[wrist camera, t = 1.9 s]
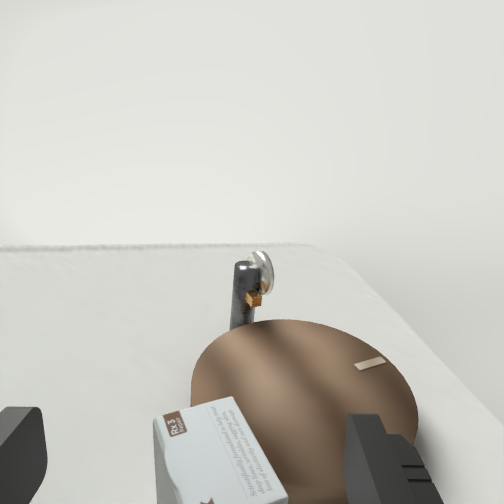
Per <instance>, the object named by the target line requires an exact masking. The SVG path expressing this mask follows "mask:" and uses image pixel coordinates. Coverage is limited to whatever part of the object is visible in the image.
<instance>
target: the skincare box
mask: <svg viewBox="0 0 504 504" xmlns="http://www.w3.org/2000/svg"><path fill="white" fill-rule="evenodd" d="M153 439H154V458H155V475H156V491H157V504H288V498H289V497H288V495H287V493H286V491H285V489H284V488H283V486H282V484H281V482H280V481H279V479H278V477H277V475H276V474H275V472H274V470H273V468H272V466H271V465H270V463H269V461H268V459H267V457H266V456H265V454H264V452H263V450H262V449H261V447H260V445H259V443H258V441H257V440H256V438H255V436H254V434H253V433H252V431H251V429H250V427H249V426H248V424H247V422H246V420H245V418H244V416H243V415H242V413H241V411H240V409H239V407H238V406H237V404H236V402H235V400H234V398H233V397H232V396H231V397H227V398H223V399H219V400H215V401H211V402H207V403H204V404H200V405H197V406H193V407H190V408H186V409H183V410H179V411H176V412H173V413H169V414H166V415H161V416H157V417H155V418H154V419H153Z"/></svg>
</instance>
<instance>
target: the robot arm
mask: <svg viewBox="0 0 504 504" xmlns="http://www.w3.org/2000/svg"><path fill="white" fill-rule="evenodd" d="M46 469H47V449H46V442H45V434H44V426H43V418H42V413H41V410H40V409H39V408H38V407H6V408H5V409H3V410H2V411H1V412H0V504H29V503H30V501H31V500H32V498H33V496H34V495H35V493H36V492H37V490H38V489H39V487H40V485H41V483H42V481H43V479H44V476H45V473H46ZM343 473H344V484H345V490H346V494H347V498H348V502H349V504H444V503H443V501H442V499H441V497H440V495H439V493H438V491H437V489H436V487H435V485H434V483H432V479H431V477H430V475H429V473H428V471H427V469H425V467H424V464H423V462H422V460H421V458H420V456H419V454H418V452H417V450H416V448H415V447H414V446H412V445H411V444H410V443H409V442H408V441H407V440H406V439H405V438H404V437H403V436H402V435H401V434H387V432H386V430H385V428H384V425H383V423H382V421H381V418H380V416H379V415H378V414H377V413H348V415H347V421H346V434H345V448H344V461H343Z"/></svg>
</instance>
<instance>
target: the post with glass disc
mask: <svg viewBox="0 0 504 504" xmlns="http://www.w3.org/2000/svg"><path fill="white" fill-rule="evenodd" d="M273 286H274V271H273V266H272V263H271V260H270V258H269V257H268V255H267V254H266V253H265V252H264V251H255V252H251V253H250V254H249V256H248V259H247V261H239V262H237V263H236V264H235V269H234V282H233V294H232V307H231V319H230V330H232V329H235V328H237V327H240V326H243V325H246V324H250V323H253V322H254V313H255V307H257V306H261V300H262V296H261V295H267V294H269V293H271V291H272V289H273Z"/></svg>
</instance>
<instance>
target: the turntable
mask: <svg viewBox="0 0 504 504" xmlns="http://www.w3.org/2000/svg"><path fill="white" fill-rule="evenodd" d="M231 396H232V397H233V398H234V400H235V402H236V404H237V406H238V407H239V409H240V411H241V413H242V415H243V416H244V418H245V420H246V422H247V424H248V426H249V427H250V429H251V431H252V433H253V434H254V436H255V438H256V440H257V441H258V443H259V445H260V447H261V449H262V450H263V452H264V454H265V456H266V457H267V459H268V461H269V463H270V465H271V466H272V468H273V470H274V472H275V474H276V475H277V477H278V479H279V481H280V482H281V484H282V486H283V488H284V489H285V491H286V493H287V495H288V497H289V498H288V504H349V502H348V498H347V494H346V490H345V484H344V473H343V461H344V448H345V434H346V421H347V415H348V413H377V414H378V415H379V416H380V418H381V421H382V423H383V425H384V428H385V430H386V432H387V434H401V435H402V436H403V437H404V438H405V439H406V440H407V441H408V442H409V443H410V444H411V445H412V446H413V443H414V440H415V436H416V433H417V429H418V411H417V405H416V402H415V398H414V395H413V393H412V391H411V389H410V387H409V385H408V383H407V382H406V380H405V378H404V377H403V376H402V374H401V373H400V372H399V371H398V369H397V368H396V367H395V366H394V365H393V364H392V363H391V362H390V361H389V360H388V359H387V358H386V357H385V356H383V355H382V354H381V353H380V352H379V351H377V350H376V349H374V348H373V347H371V346H370V345H369V344H367V343H365V342H363V341H362V340H360V339H358V338H356V337H354V336H352V335H350V334H348V333H346V332H343V331H340V330H338V329H335V328H332V327H329V326H325V325H322V324H317V323H313V322H307V321H300V320H265V321H259V322H254V323H250V324H246V325H243V326H240V327H237V328H235V329H232V330H230V331H228V332H226V333H224V334H223V335H221V336H220V337H218V338H217V339H216V340H214V341H213V342H212V343H211V344H210V345H209V346H208V347H207V348H206V349H205V350H204V352H203V353H202V354H201V356H200V358H199V359H198V361H197V363H196V366H195V368H194V371H193V376H192V381H191V407H193V406H197V405H200V404H204V403H207V402H211V401H215V400H219V399H223V398H227V397H231Z"/></svg>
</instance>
